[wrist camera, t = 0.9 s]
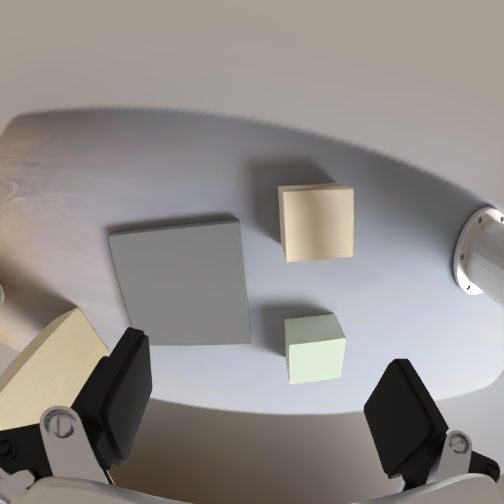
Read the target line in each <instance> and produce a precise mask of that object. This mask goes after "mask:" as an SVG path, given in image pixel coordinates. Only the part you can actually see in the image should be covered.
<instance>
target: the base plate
mask: <svg viewBox="0 0 504 504" xmlns="http://www.w3.org/2000/svg"><path fill="white" fill-rule="evenodd" d="M108 239H109V244H110V248H111V253H112V257H113V261H114V265H115V269H116V273H117V276H118V280H119V284H120V287H121V291H122V294H123V298H124V301H125V304H126V308H127V311H128V314H129V317H130V320H131V323H132V326H133V328H135V329H139V330H143V331H144V334H145V335H147V336H148V337H149V345H226V344H246V343H251V328H250V319H249V309H248V300H247V290H246V281H245V271H244V261H243V252H242V242H241V232H240V222H239V219H237V220H226V221H215V222H204V223H194V224H184V225H175V226H166V227H157V228H148V229H140V230H131V231H123V232H115V233H113V234H111V235H110V236H108Z"/></svg>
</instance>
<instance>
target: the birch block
mask: <svg viewBox="0 0 504 504" xmlns="http://www.w3.org/2000/svg"><path fill="white" fill-rule="evenodd" d="M278 199H279V215H280V233H281V246H282V249H283V252H284V255H285V259H286V262H294V261H307V260H319V259H331V258H342V257H353V232H354V189H352V188H349V187H346V186H343V185H341V184H338V183H328V184H304V185H285V186H278Z"/></svg>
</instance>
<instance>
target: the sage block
mask: <svg viewBox="0 0 504 504" xmlns="http://www.w3.org/2000/svg"><path fill="white" fill-rule="evenodd" d="M284 323H285V354H286V364H287V370H288V377H289V384H297V383H305V382H313V381H321V380H327V379H334V378H340V377H341V371H342V364H343V357H344V350H345V342H346V337H345V335H344V333H343V330H342V328H341V326H340V324H339V322H338V320H337V318H336V316H335V314H327V315H318V316H310V317H300V318H290V319H284Z"/></svg>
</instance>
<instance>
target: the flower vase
mask: <svg viewBox="0 0 504 504" xmlns="http://www.w3.org/2000/svg"><path fill="white" fill-rule="evenodd" d="M4 298H5V296H4V291H3V287H2V285H1V283H0V315H1V312H2V304H3V302H4Z"/></svg>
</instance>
